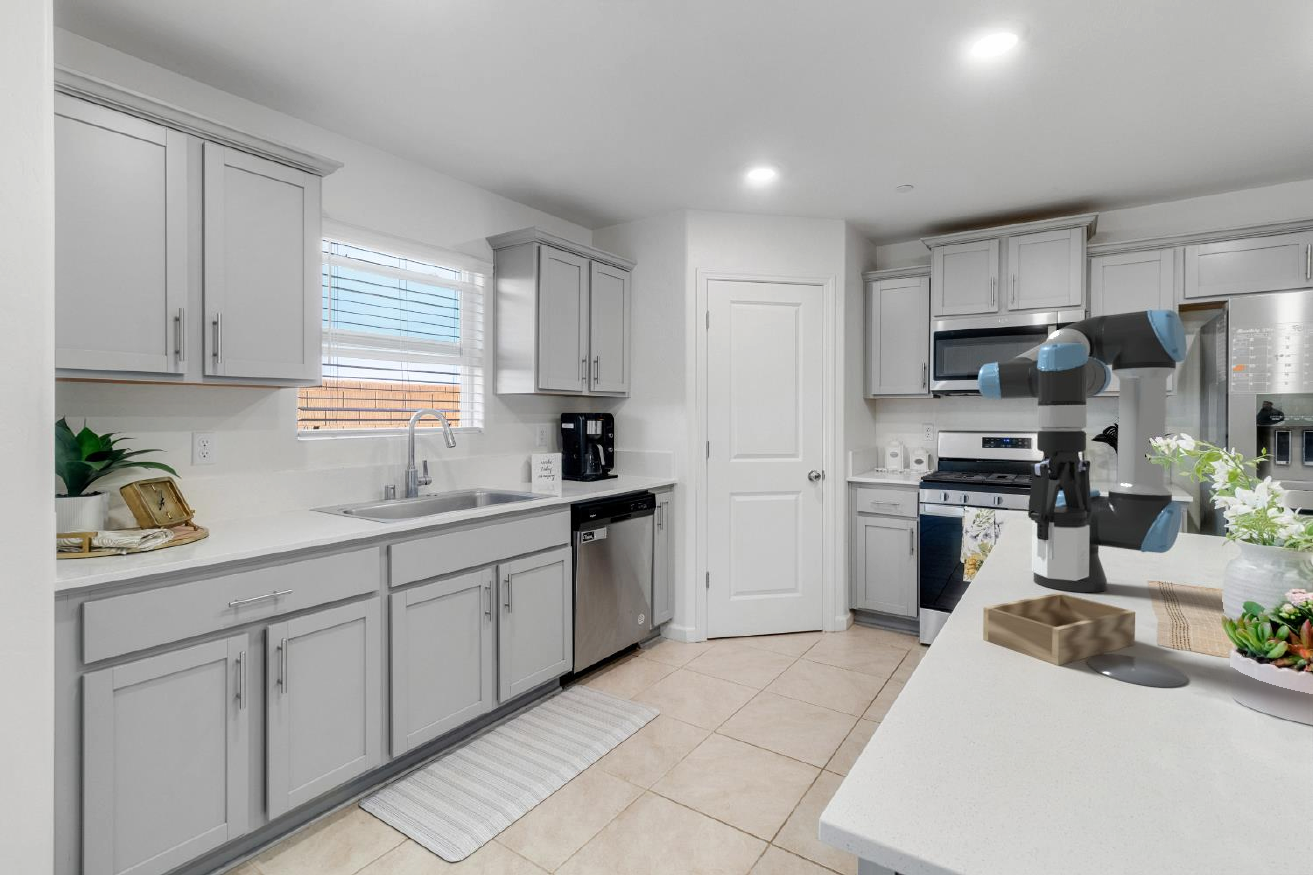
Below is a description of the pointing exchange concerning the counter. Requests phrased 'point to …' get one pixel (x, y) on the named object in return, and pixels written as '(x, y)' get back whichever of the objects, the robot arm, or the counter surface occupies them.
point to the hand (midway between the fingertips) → (1059, 554)
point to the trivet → (1137, 670)
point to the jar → (1064, 546)
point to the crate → (1078, 638)
